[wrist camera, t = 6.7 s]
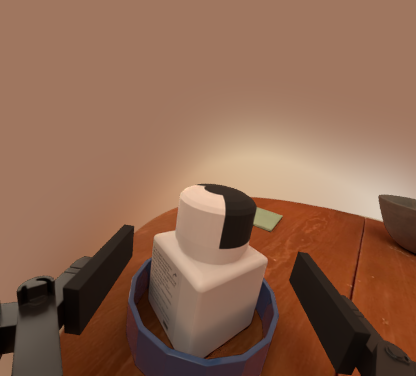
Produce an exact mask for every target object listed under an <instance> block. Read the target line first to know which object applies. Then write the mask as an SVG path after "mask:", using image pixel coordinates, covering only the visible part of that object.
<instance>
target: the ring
mask: <svg viewBox="0 0 416 376" xmlns="http://www.w3.org/2000/svg"><path fill="white" fill-rule="evenodd" d="M151 263H152V257H151V258H149V259H148V260H146V261H145V262H144V264H143V265H142V266H141V267H140V269H139V270H138V271H137V272H136V274H135V275H134V276H133V277H132V283H131V288H130V294H129V299H128V310H127V326H126V336H127V339H128V342H129V346H130V349H131V352H132V356H133V359H134V362H135V365H136V366H137V367H138V368H139V369H140V370H141V371H142V372H143V373H144V375H145V376H259V375H260V374H261V371H262V368H263V365H264V362H265V358H266V355H267V352H268V349H269V346H270V343H271V340H272V337H273V334H274V331H275V328H276V324H277V321H278V318H279V314H278V309H277V304H276V300H275V295H274V292H273V290H272V289H271V287H270V286H269V285H268V283H267V282H266V280H265V279H264V277H263V281H262V285H261V288H260V292H259V296H258V299H257V303H256V307H255V308H256V310H257V312H258V314H259V316H260V318H261V320H262V325H263V334H264V339H263V340H261V341H260V342H259V343H257V344H256V345H255V346H253V347H252V348H251V349H249V350H248V351H247V352H245V353H244V354H243V355H236V356H229V357H221V358H214V359H203V358H200V357H197V356H193V355H190V354H187V353H183V352H180V351H177V350H173V349H170V348H169V347H167V346H166V345H165V344H164V343H163V342H162V341H161V340H159V339H158V338H157V337H156V336H155V335H154V334H153V333H151V332H150V331H149V330H148V329H147V328H146V327H145V326H143V323H142V321H141V318H140V315H139V313H138V310H137V308H136V305H137V304H138V302H139V300H140V299H141V297H142V296H143V294H144V292H145V291H146V289H148V288H149V284H150V273H151Z"/></svg>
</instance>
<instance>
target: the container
mask: <svg viewBox="0 0 416 376" xmlns="http://www.w3.org/2000/svg"><path fill="white" fill-rule="evenodd" d="M256 210H257V206H256V204H255V202H254V201H253V199H252V198H250V197H249V196H247V195H246V194H245V193H243V192H241V191H239V190H237V189H234V188H231V187H227V186H222V185H216V184H198V185H194V186H190V187H187V188H186V189H184V190H183V191H182V192H181V194H180V199H179V207H178V215H177V223H176V230H175V231H170V232H165V233H160V234H156V235H155V236H154V241H153V252H152V263H151V273H150V284H149V294H148V300H149V302H150V304H151V306H152V308H153V310H154V312H155V314H156V315H157V317H158V319H159V321H160V323H161V325H162V327H163V329H164V330H165V332H166V334H167V336H168V338H169V340H170V342H171V344H172V346H173V347H174V349H175V350H177V351H180V352H183V353H187V354H190V355H193V356H197V357H200V358H204V357H206V356H207V355H208V354H210V353H211V352H213V351H214V350H215V349H217V348H218V347H220V346H221V345H222V344H224V343H225V342H227V341H228V340H229V339H231V338H232V337H234V336H235V335H236V334H238V333H239V332H241V331H242V330H243V329H245V328H246V327H248V326H249V325H250V324H251V321H252V318H253V314H254V310H255V307H256V303H257V299H258V296H259V292H260V288H261V285H262V281H263V277H264V274H265V270H266V267H267V263H268V260H267V258H266V257H265V256H264V255H262V254H261V253H259V252H258V251H256V250H255V249H254V248H252V247H251V246H249V245H248V244H249V240H250V236H251V231H252V227H253V223H254V219H255V215H256Z"/></svg>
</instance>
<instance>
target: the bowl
mask: <svg viewBox="0 0 416 376" xmlns="http://www.w3.org/2000/svg"><path fill="white" fill-rule="evenodd" d="M379 204H380V209H381V214H382V218H383V222H384V225H385V227H386V229H387V231H388V233H389V234H390V235H391V237H392V238H393V239H394V240H395V241H396V242H397V243H398V244H399V245H400V246H402V247H403V248H405V249H406V250H408V251H410V252H412V253H415V254H416V200H415V199H411V198H406V197H400V196H393V195H379Z"/></svg>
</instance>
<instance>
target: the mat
mask: <svg viewBox="0 0 416 376" xmlns="http://www.w3.org/2000/svg"><path fill="white" fill-rule="evenodd" d="M281 218H282V215H279V214H276V213H273V212H270V211H267V210H264V209H261V208H257V210H256V215H255V219H254V223H253V225H254V226H257V227H259V228H262V229H265V230H267V231H270V232H271V231H272V230H273V228H274V227H275V226H276V225H277V223H278V222H279V221H280V219H281Z"/></svg>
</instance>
